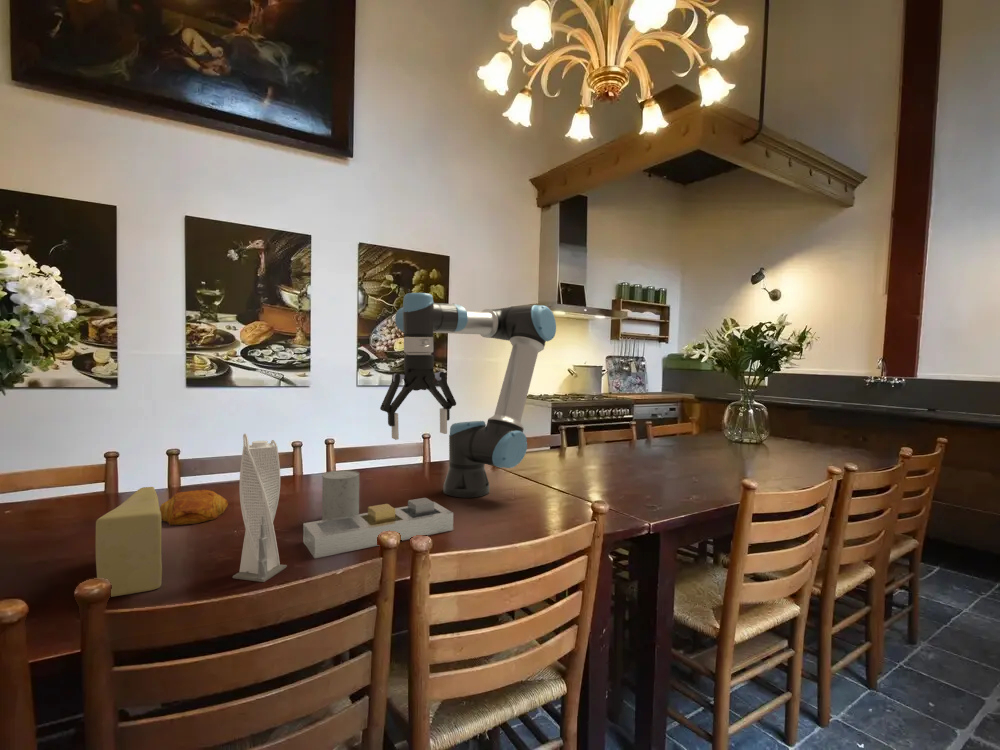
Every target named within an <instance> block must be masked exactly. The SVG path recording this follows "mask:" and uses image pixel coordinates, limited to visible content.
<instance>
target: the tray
mask: <svg viewBox="0 0 1000 750" xmlns="http://www.w3.org/2000/svg"><path fill="white" fill-rule="evenodd" d="M394 508H395V521H393V522H388V523H382V524H377V525H370V524H369V523H368V512H363V513H359V514H357V515H351V516H345V517H339V518H332V519H326V520H322V519H320V520H316V521H309V522H303V524H302V525H303V527H302V528H303V530H302V531H303V532H302V533H303V535H302V536H303V538H302V539H303V541H302V542H303V544H304V545H305V547H306V548H307V550H308V551H309V552H310V554H311V556H312V557H313V558H314V559H320V558H325V557H330V556H333V555H339V554H344V553H348V552H352V551H357V550H362V549H363V550H364V549H368V548H374V547H378V546H379V545H377V537H378V535H379V534H380V533H381V532H383V531H389V530H390V531H396V532H398V533H400V535H401V540H402V541H401V542H403V541H407V540H411V539H410V538H411V537H413V536H416V535H427V536H432V535H436V534H441V533H446V532H451V531H453V530H454V512H453V511H451V510H449V509H447V508H446V507H444V506H442V505H440V504H439V503H437V502H436V501H432V500H431V499H429V498H427V497H422V498H415V499H409V500H407V506H401V507H394Z"/></svg>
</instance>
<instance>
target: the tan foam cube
mask: <svg viewBox="0 0 1000 750" xmlns="http://www.w3.org/2000/svg"><path fill="white" fill-rule="evenodd" d="M395 508H396V507H393V506H391V505H390V504H389V503H384V504H375V505H370V506H367V513H368V523H369V524H370V525H377V524H382V523H388V522H393V521H395Z"/></svg>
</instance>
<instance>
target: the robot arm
mask: <svg viewBox="0 0 1000 750" xmlns="http://www.w3.org/2000/svg"><path fill="white" fill-rule="evenodd" d="M433 297H434V296H433V295H432V294H431V293H428V292H427V293H426V292H408V293H406V294H405V295H404V296H403V302H402V307H400V308H399V309H398V310H397V311H396V312H395V316H394V322H395V326H396V328H397V329H399V330H400V331H401V332H403V352H404V354H405V355H404V356H403V367H404V372H403V374H400V373H395V372H394V373H392V374H391V375H392V376H391V383H390V386H389V388H388V389H387V392H386V394H385V396H384V398H383V401H382V403H381V405H380V408H379V409H380V411H383V412H385V413H387V425H388V426H389V427H391V439H393V440H395V441H397V440H399V413H397V412H396V411H397V410H398V409H399V407H400V406H401V405H402V403H403V402H404V401H405V399H407V396H409V395H410V393H412V391H417V392H418V391H429V392H430V394H431V395H432V396H433V397H434V399H435V400H436V401H437V403H438V404H440V406H441V407H440V408H439V433H440V434H444V435H446V434H448V421H450V415H451V413H450V412H451V411H450V410H451V409H452V407H455V406H456V405H457V401H456V399H455V397H454V394H453V392H452V390H451V388H450V387H449V385H448V383H447V380H446V373H445V372H444V371H437V372H434V368H435V366H434V365H435V364H434V362H435V361H434V360H435V359H434V357H435V356H434V355H433V354H432V353H434V334H455V335H456V334H459V335H463V334H464V335H480V336H481V337H483V338H488V339H490V338H491V339H495V340H496V339H497V340H501V341H509V342H510V344H511V346H512V347H511V351H510V356H509V359H508V363H507V366H506V371H505V373H504V378H503V381H502V386H501V389H500V392H499V396H498V399H497V400H498V401H497V404H496V407H495V411H494V414H493V416H491V417H489V418H488V419H487V421H484V420H474V421H473V420H472V421H461V422H455V423H452V424H451V426H450V427H449V434H448V437H449V438H448V442H449V443H448V449H449V450H448V453H449V455H448V460H449V463H448V464H449V465H448V469H447V474H446V477H445V480H444V483H443V490H442V491H443V494H445V495H448V496H449V497H450V496H451V497H454V498H478V497H484V496H486V495H488V494H489V493H490V481H489V477H488V475H487V473H486V469H485V465H487V466H494V467H497V468H501V469H503V468H505V469H513V468H515V467H516V466H517V465H519V464H520V463H522V461H523V459H524V458H525V456H526V453H527V450H528V442H527V441H528V439H527V436H526V433H524V426H523V424H522V423H521V422H522V417H523V413H524V410H525V406H526V401H527V398H528V394H529V390H530V385H531V382H532V379H533V374H534V371H535V370H534V369H535V366H536V362H537V359H538V356H539V353H541V352H542V351H544V350H545V345H546V342H549V341H550V342H551V341H552V340H553V339H554V337H555V336H556V332H557V320H556V319H555V315H554V313H553V311H552V310H551V308H549V307H548V306H546V305H541V304H540V305H539V304H538V305H537V304H533V305H525V306H508V307H502V308H494V309H493V308H492V309H490V308H488V309H487V308H485V309H483V310H481V311H478V310H477V311H475V310H467V309H466V308H465V307H464V306H463V305H461V304H455V303H442V302H440V303H438V302H434V299H433ZM434 380H436V381H437V383H438V385H439V387H440V389H441V391H442V394H443V395H442V394H441V392H440V391H439V389H437V386H436V385H435V383H433V382H434ZM402 381H404V383H405V384H403V386H402V388H401V391H400V392H399V393H398V395H397V396H396V397H395V395H396V393H397V391H398V388H399V386H400V383H402Z"/></svg>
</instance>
